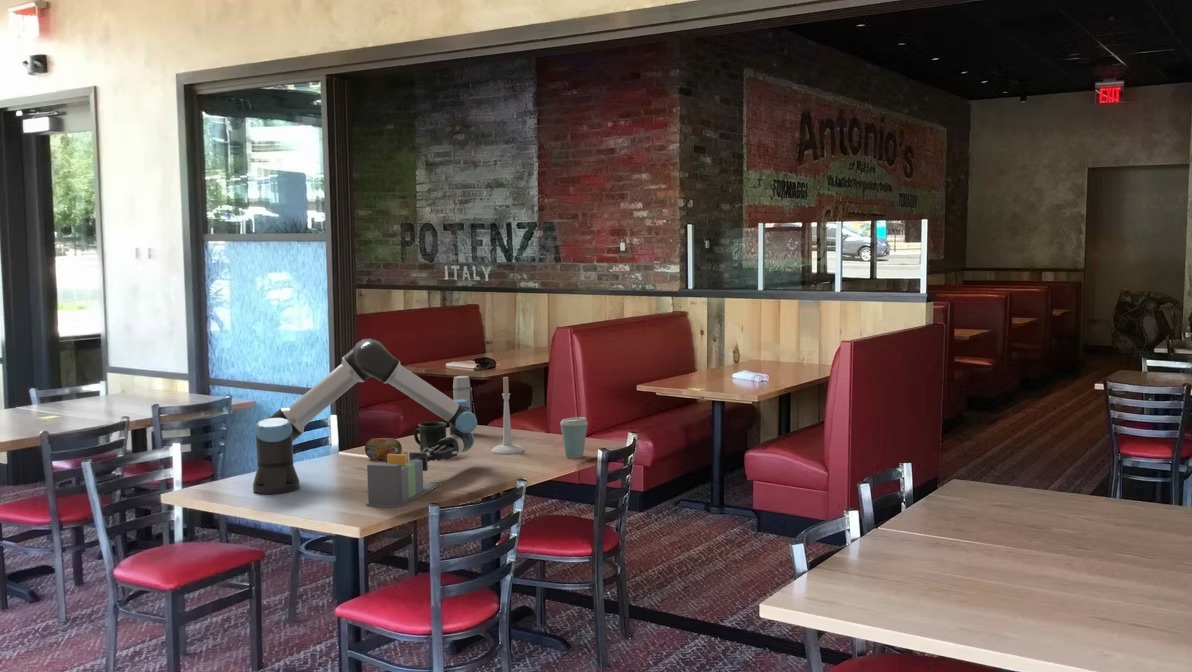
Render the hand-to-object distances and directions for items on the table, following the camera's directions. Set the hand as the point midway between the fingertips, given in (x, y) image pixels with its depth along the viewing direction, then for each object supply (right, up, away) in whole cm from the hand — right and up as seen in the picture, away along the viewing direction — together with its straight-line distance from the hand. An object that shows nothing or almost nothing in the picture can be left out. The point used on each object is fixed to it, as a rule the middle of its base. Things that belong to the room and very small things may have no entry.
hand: (419, 460), depth 344 cm
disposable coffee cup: (+51, -4, +47) cm, 70 cm away
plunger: (-2, -4, -8) cm, 9 cm away
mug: (-6, -5, +58) cm, 58 cm away
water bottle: (+2, -1, +100) cm, 100 cm away
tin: (-22, -6, +48) cm, 53 cm away
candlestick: (+24, -4, +60) cm, 65 cm away
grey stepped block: (-3, -10, -10) cm, 14 cm away
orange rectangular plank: (-5, +1, -15) cm, 16 cm away
